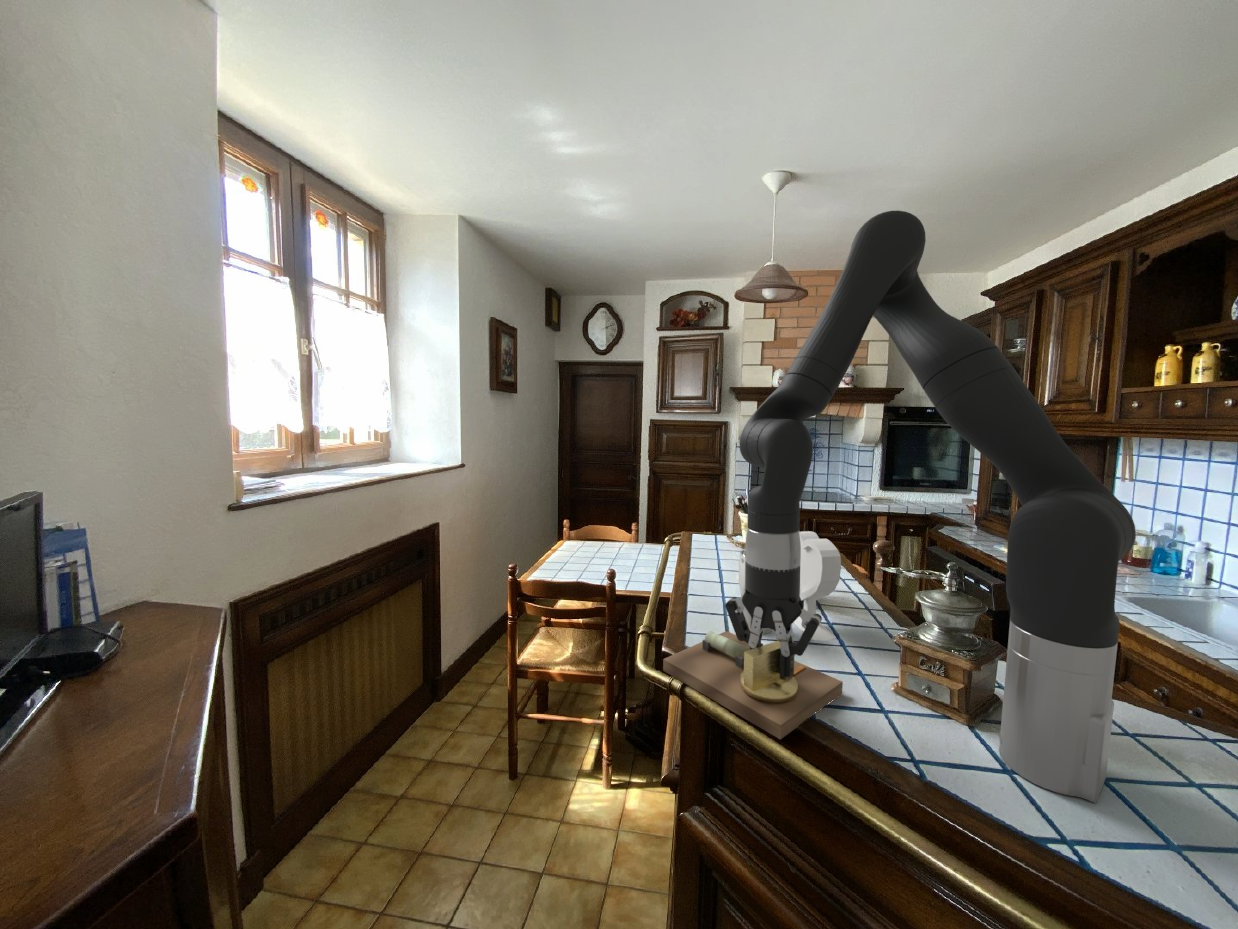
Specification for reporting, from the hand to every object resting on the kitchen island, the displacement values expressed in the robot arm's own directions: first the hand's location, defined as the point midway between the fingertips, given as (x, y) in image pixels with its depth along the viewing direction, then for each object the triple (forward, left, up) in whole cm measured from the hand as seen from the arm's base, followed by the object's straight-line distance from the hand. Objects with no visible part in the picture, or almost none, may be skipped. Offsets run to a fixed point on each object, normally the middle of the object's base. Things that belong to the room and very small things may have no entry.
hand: (770, 672), depth 72 cm
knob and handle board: (+5, -2, -4) cm, 7 cm away
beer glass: (+16, -19, -5) cm, 25 cm away
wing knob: (0, 0, -2) cm, 2 cm away
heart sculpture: (+10, -28, -5) cm, 30 cm away
